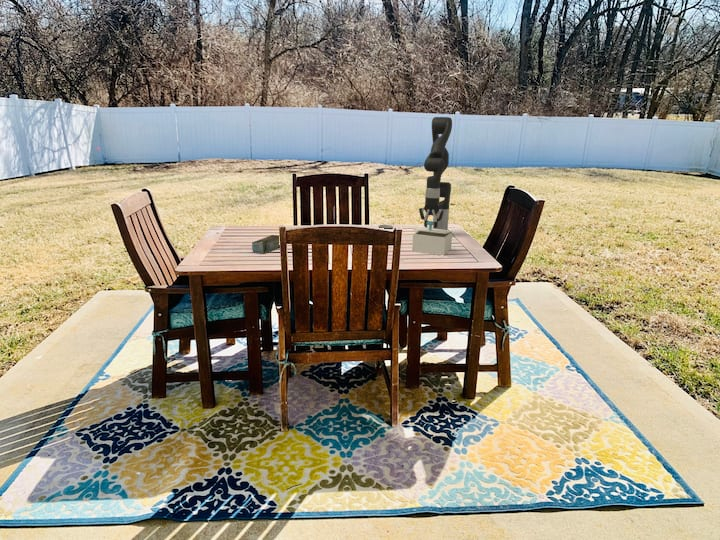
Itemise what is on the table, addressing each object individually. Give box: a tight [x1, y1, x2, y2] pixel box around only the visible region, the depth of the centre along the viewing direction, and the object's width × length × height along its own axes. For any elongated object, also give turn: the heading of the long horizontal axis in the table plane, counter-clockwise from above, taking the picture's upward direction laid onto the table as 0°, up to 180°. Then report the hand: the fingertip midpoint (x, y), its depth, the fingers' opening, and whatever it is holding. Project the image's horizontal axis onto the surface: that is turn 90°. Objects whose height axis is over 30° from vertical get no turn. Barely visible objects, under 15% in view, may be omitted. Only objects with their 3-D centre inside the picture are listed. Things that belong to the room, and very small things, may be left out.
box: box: [411, 230, 453, 256], centre depth 279 cm, size 15×18×10 cm
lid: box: [413, 220, 453, 234], centre depth 277 cm, size 15×18×6 cm
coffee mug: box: [377, 224, 394, 230], centre depth 292 cm, size 12×9×10 cm
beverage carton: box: [251, 234, 281, 255], centre depth 276 cm, size 8×19×7 cm, turn 154°
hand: (430, 227), depth 272 cm, fingers closed on lid, 4 cm apart
